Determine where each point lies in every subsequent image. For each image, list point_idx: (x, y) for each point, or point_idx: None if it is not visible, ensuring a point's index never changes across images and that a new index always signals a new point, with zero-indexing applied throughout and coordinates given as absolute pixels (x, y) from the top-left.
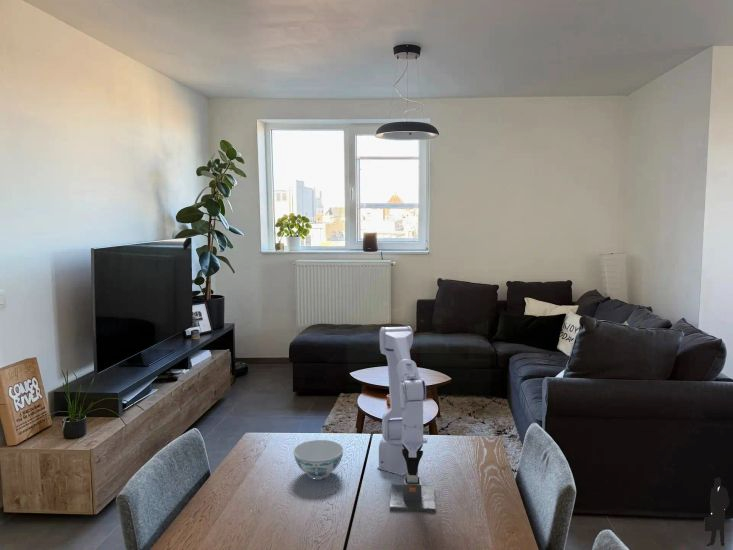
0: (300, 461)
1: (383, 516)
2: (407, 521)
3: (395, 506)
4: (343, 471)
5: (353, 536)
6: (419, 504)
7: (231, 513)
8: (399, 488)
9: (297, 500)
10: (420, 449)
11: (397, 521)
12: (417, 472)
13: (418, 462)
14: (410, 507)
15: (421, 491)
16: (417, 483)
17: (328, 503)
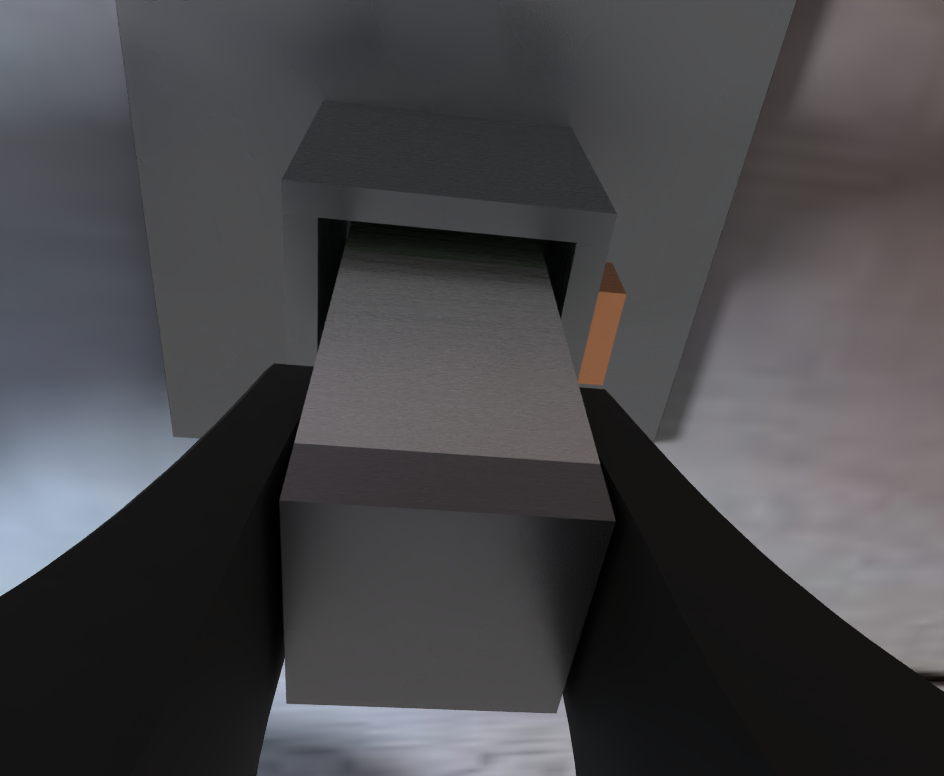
0: None
1: (724, 491)
2: (875, 307)
3: (651, 422)
4: None
5: (923, 652)
6: (655, 165)
7: None
8: (253, 363)
9: None
10: (147, 754)
11: (842, 392)
12: (570, 385)
13: (832, 624)
14: (703, 280)
15: (302, 91)
16: (546, 272)
17: (477, 770)
